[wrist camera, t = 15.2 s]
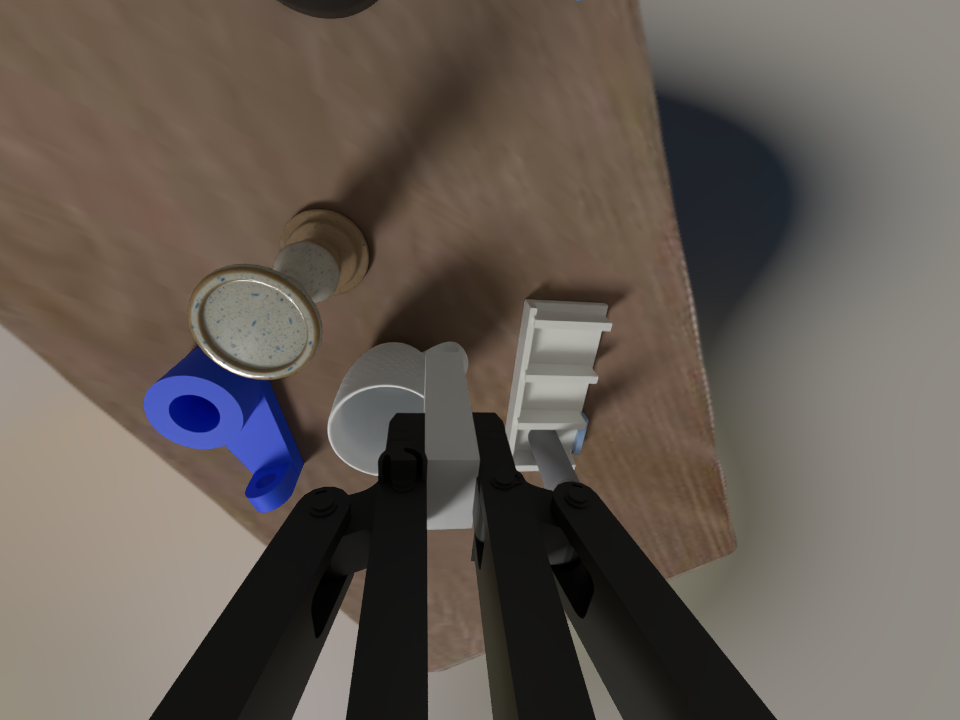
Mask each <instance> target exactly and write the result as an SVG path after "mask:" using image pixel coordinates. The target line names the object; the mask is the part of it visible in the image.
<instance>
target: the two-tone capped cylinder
mask: <svg viewBox="0 0 960 720" xmlns="http://www.w3.org/2000/svg"><path fill="white" fill-rule="evenodd" d="M528 441H529V443H530V446H531V449H532V452H533V455H534V458H535V460H536V463H537V466H538V469H539V472H540V474H541V477H542V480H543V483H544V486H545V488H546V489H548V490H552V491H554V489H555V488H556V486H557V485H558V484H560V483H563V482H567V481H574V482H578V483H580V482H579V480H578V478H577V476H576V474H575V471H574V469H573V467H572V465H571V463H570V461H569V458H568V456H567V454H566V452H565V450H564V448H563V445H562V443H561V441H560V439H559V437H558V435H557V433H556V430H530V432H529V434H528Z"/></svg>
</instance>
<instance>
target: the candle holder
mask: <svg viewBox="0 0 960 720" xmlns="http://www.w3.org/2000/svg"><path fill="white" fill-rule="evenodd" d="M368 264H369V250H368V246H367V243H366V240H365V238H364V236H363V234H362V233H361V231H360V230H359V228H358V227H357V226H356V225H355V224H354V223H353V222H352V221H351V220H349V219H348V218H347V217H345V216H343V215H342V214H340V213H337V212H335V211H331V210H327V209H311V210H307V211H304V212H302V213H299V214H298V215H296V216H295V217H293V218H292V219H291V220H290V221H289V222H288V223H287V225H286V226H285V227H284V230H283V232H282V234H281V238H280V251H279V253H278V254H277V256H276V258H275V260H274V263H273V269H271V268H268V267H264V266H260V265H253V264H234V265H230V266H225V267H222V268H220V269H217V270H215V271H213V272H212V273H210V274H209V275H207V276H206V277H204V278H203V279H202V280H201V281H200V282H199V283H198V285H197V286H196V288H195V289H194V291H193V293H192V295H191V298H190V300H189V306H188V321H189V325H190V329H191V332H192V334H193V337H194V338H195V340H196V342H197V343H198V345H199V347H200V348H201V349H202V350H203V351H204V353H205V354H206V355H207V356H208V357H209V358H210V359H211V360H213V361H214V362H215V363H217V364H218V365H219V366H221V367H223V368H224V369H226V370H228V371H230V372H232V373H235V374H237V375H240V376H243V377H247V378H252V379H258V380H273V379H279V378H284V377H287V376H290V375H292V374H295V373H297V372H298V371H300V370H302V369H303V368H304V367H305V366H307V365H308V364H309V363H310V362H311V361H312V359H313V358H314V357H315V355H316V353H317V351H318V350H319V347H320V344H321V341H322V333H323V332H322V322H321V318H320V314H319V311H318V309H317V307H316V305H315V303H320V302H322V301H324V300H326V299H327V298H329V297H330V296H331V295H337V294H342V293H345V292H347V291H349V290H351V289H353V288H354V287H355V286H357V285H358V284H359V283H360V281H361V280H362V279H363V277H364V275H365V274H366V271H367V268H368Z"/></svg>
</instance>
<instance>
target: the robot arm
mask: <svg viewBox="0 0 960 720" xmlns="http://www.w3.org/2000/svg"><path fill="white" fill-rule="evenodd" d="M277 1H279V2H280V3H282V4H284V5H285V6H287V7H289V8H291V9H293V10H295V11H297V12H300V13H303V14H305V15H309V16H313V17H318V18H327V19H334V18H343V17H348V16H351V15H354V14H357V13H359V12H362V11H363V10H365V9H367V8H369V7H370V6H372V5H373V4H374V3H375V2H377V1H378V0H277ZM576 1H582V0H576ZM473 522H474V530H475V532H474V540H473V548H472V557H471V561H475V565H476V573H477V582H478V591H479V600H480V608H481V617H482V626H483V634H484V643H485V652H486V661H487V669H488V678H489V687H490V695H491V704H492V713H493V720H596V718H595V715H594V712H593V708H592V705H591V701H590V698H589V694H588V691H587V688H586V684H585V681H584V678H583V674H582V671H581V667H580V664H579V660H578V657H577V654H576V650H575V647H574V644H573V640H572V637H571V634H570V630H569V627H568V623H567V620H566V616H565V613H564V610H565V612H566V614H567V616H568V617H569V619H570V621H571V623H572V625H573V627H574V629H575V630H576V632H577V634H578V636H579V638H580V640H581V642H582V644H583V645H584V647H585V649H586V651H587V653H588V655H589V657H590V658H591V660H592V662H593V664H594V666H595V668H596V670H597V672H598V673H599V675H600V677H601V679H602V681H603V683H604V685H605V686H606V688H607V690H608V692H609V694H610V696H611V698H612V700H613V701H614V703H615V705H616V707H617V709H618V711H619V713H620V714H621V716H622V718H623V720H777V719H776V718H775V716H774V715H773V714H772V713H771V711H770V710H769V709H768V708H767V707H766V705H765V704H764V703H763V701H762V700H761V699H760V698H759V696H758V695H757V694H756V693H755V691H754V690H753V689H752V688H751V687H750V685H749V684H748V683H747V682H746V680H745V679H744V678H743V677H742V675H741V674H740V673H739V671H738V670H737V669H736V668H735V667H734V665H733V664H732V663H731V661H730V660H729V659H728V658H727V657H726V655H725V654H724V653H723V652H722V650H721V649H720V648H719V647H718V645H717V644H716V643H715V641H714V640H713V639H712V638H711V636H710V635H709V634H708V633H707V631H706V630H705V629H704V628H703V626H702V625H701V624H700V623H699V621H698V620H697V619H696V618H695V616H694V615H693V614H692V613H691V611H690V610H689V609H688V608H687V606H686V605H685V604H684V603H683V601H682V600H681V599H680V598H679V597H678V595H677V594H676V593H675V591H674V590H673V589H672V588H671V587H670V585H669V584H668V582H667V581H666V580H665V579H664V577H663V576H662V575H661V574H660V572H659V571H658V570H657V569H656V567H655V566H654V565H653V564H652V562H651V561H650V560H649V559H648V557H647V556H646V555H645V554H644V552H643V551H642V550H641V549H640V547H639V546H638V545H637V544H636V542H635V541H634V540H633V539H632V537H631V536H630V535H629V534H628V532H627V531H626V530H625V529H624V527H623V526H622V525H621V524H620V522H619V521H618V520H617V519H616V517H615V516H614V515H613V514H612V512H611V511H610V510H609V509H608V507H607V506H606V505H605V504H604V502H603V501H602V500H601V499H600V497H599V496H598V495H597V494H596V493H595V492H594V491H593V490H592V489H591V488H590V487H588V486H586V485H584V484H582V483H578V482H574V481H567V482H563V483H560V484H558V485H557V486H556V488H555V489H554V491H552V490H548V489H544V488H540V487H537V486H534V485H531V484H530V483H528V482H526V480H525V479H524V477H523V475H522V474H521V473H520V472H518V471H517V470H516V467H515V463H514V460H513V456H512V452H511V449H510V445H509V442H508V438H507V434H506V433H505V427H504V424H503V421H502V420H501V419H500V418H499V417H498V415H497V414H496V413H479V412H472V410H471V404H470V398H469V392H468V387H467V381H466V375H465V369H464V363H463V357H462V353H451V352H426V357H425V387H424V413H396V414H395V415H394V417H393V418H392V419H391V420H390V421H389V428H388V436H387V443H386V450H385V451H384V452H383V453H382V454H381V455H380V457H379V459H378V482H377V483H376V484H374V485H373V486H372V487H370V488H368V489H367V490H364V491H361V492H358V493H355V494H351V495H348V494H347V493H346V492H345V491H344V490H342V489H339V488H336V487H322V488H318V489H314V490H312V491H311V492H309V493H307V494H305V495H304V496H303V497H302V498H301V499H300V500H299V501H298V503H297V504H296V506H295V507H294V509H293V510H292V512H291V513H290V514H289V516H288V517H287V519H286V520H285V522H284V523H283V525H282V526H281V528H280V529H279V530H278V532H277V533H276V535H275V536H274V538H273V539H272V541H271V542H270V544H269V545H268V547H267V548H266V549H265V551H264V552H263V554H262V555H261V557H260V558H259V560H258V561H257V563H256V564H255V565H254V567H253V568H252V570H251V571H250V573H249V574H248V576H247V577H246V579H245V580H244V582H243V583H242V585H241V586H240V587H239V589H238V590H237V592H236V593H235V595H234V596H233V598H232V599H231V601H230V602H229V604H228V605H227V607H226V608H225V609H224V611H223V612H222V614H221V615H220V617H219V618H218V619H217V621H216V623H215V624H214V625H213V627H212V628H211V630H210V631H209V633H208V634H207V636H206V637H205V638H204V640H203V641H202V643H201V645H200V646H199V647H198V649H197V650H196V652H195V653H194V655H193V656H192V657H191V659H190V660H189V662H188V663H187V665H186V666H185V668H184V669H183V671H182V672H181V673H180V675H179V676H178V678H177V679H176V681H175V682H174V684H173V685H172V687H171V688H170V690H169V691H168V692H167V694H166V695H165V697H164V699H163V700H162V701H161V703H160V704H159V706H158V707H157V709H156V710H155V711H154V713H153V714H152V716H151V717H150V719H149V720H292V717H293V715H294V713H295V710H296V708H297V706H298V703H299V701H300V699H301V696H302V694H303V692H304V690H305V687H306V685H307V683H308V680H309V678H310V675H311V673H312V671H313V669H314V666H315V664H316V662H317V659H318V657H319V655H320V652H321V650H322V648H323V646H324V643H325V641H326V638H327V636H328V634H329V631H330V629H331V627H332V625H333V622H334V620H335V618H336V615H337V613H338V611H339V608H340V606H341V604H342V601H343V599H344V597H345V595H346V592H347V590H348V588H349V585H350V583H351V581H352V578H353V576H354V573H355V572H357V571H360V570H363V569H366V568H367V571H366V578H365V585H364V592H363V600H362V607H361V614H360V621H359V629H358V636H357V644H356V650H355V658H354V665H353V672H352V679H351V687H350V694H349V702H348V709H347V715H346V720H428V632H427V530H433V529H463V528H472V523H473ZM563 608H564V609H563Z"/></svg>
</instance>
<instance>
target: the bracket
mask: <svg viewBox="0 0 960 720" xmlns="http://www.w3.org/2000/svg"><path fill="white" fill-rule="evenodd" d="M144 410H145V414H146V416H147V418H148V420H149V422H150V423H151V425H152V426H153V427H154V428H155V429H156V430H157V431H158V432H159V433H160V434H161V435H163V436H164V437H166V438H167V439H169V440H171V441H173V442H175V443H177V444H180V445H182V446H186V447H190V448H196V449H212V448H218V447H221V446H224V445H225V446H226V447H227V448H228V449H229V450H230V451H231V452H232V453H233V454H234V455H235V456H236V457H237V458H238V459H239V460H240V461H241V462H242V463H243V464H244V465H245V466H246V467H247V468H248V469H249V470H250V471H251V472H252V473H253V474H254V475H253V477H252V479H251V480H250V482H249V484H248V486H247V488H246V491H245V495H246V497H247V498H248V499H249V500H250V502H251V503H252V504H253V506H254V507H255V508H256V509H257V511H259V512H262V513H264V512H269V511H272V510H274V509H276V508H278V507H280V506H281V505H282V504H284V503H285V502H286V501H287V500H288V499H289V498H290V496H291V495H292V493H293V491H294V488H295V486H296V483H297V480H298V478H299V475H300V473H301V470H302V467H303V465H304V463H303V460H302V458H301V455H300V453H299V451H298V448H297V446H296V444H295V441H294V439H293V436H292V434H291V432H290V429H289V427H288V425H287V422H286V420H285V418H284V415H283V413H282V410H281V408H280V406H279V403H278V401H277V399H276V396H275V394H274V391H273V389H272V387H271V384H270V382H269V380H258V379H252V378H247V377H243V376H240V375H237V374H235V373H232V372H230V371H228V370H226V369H224V368H223V367H221V366H219V365H218V364H217V363H215V362H214V361H213V360H211V359H210V358H209V357H208V356H207V355H206V354H205V353H204V351H203V350H202V349H201V348H200V347H198V348H196V349H194V350H193V351H192V352H191V353H189V354H188V355H187V356H186V357H185V358H184V359H182V360H181V361H180V362H179V363H178V364H177V365H176V366H174V367H173V368H172V369H171V370H170V371H169V372H168V373H166V374H165V375H164V376H163V377H162V378H161V379H160V380H158V381H157V382H156V383H155V384H154V385H153V386H152V387H151V388H150V389H149V390H148V392H147V393H146V396H145V399H144Z"/></svg>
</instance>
